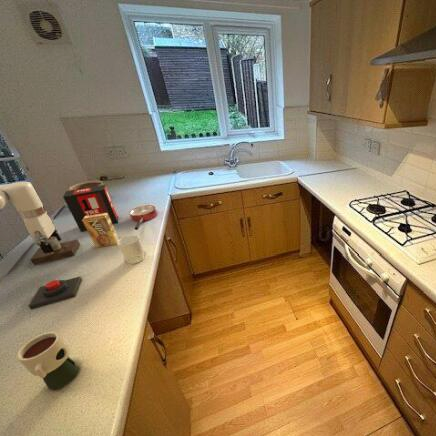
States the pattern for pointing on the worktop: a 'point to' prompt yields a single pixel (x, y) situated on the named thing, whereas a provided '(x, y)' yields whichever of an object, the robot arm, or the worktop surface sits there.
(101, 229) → the candy box
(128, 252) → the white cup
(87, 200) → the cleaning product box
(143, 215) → the frying pan
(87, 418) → the worktop surface
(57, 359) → the character mug
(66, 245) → the base
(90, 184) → the cooking pot
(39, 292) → the button block
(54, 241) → the tap knob
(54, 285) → the button
